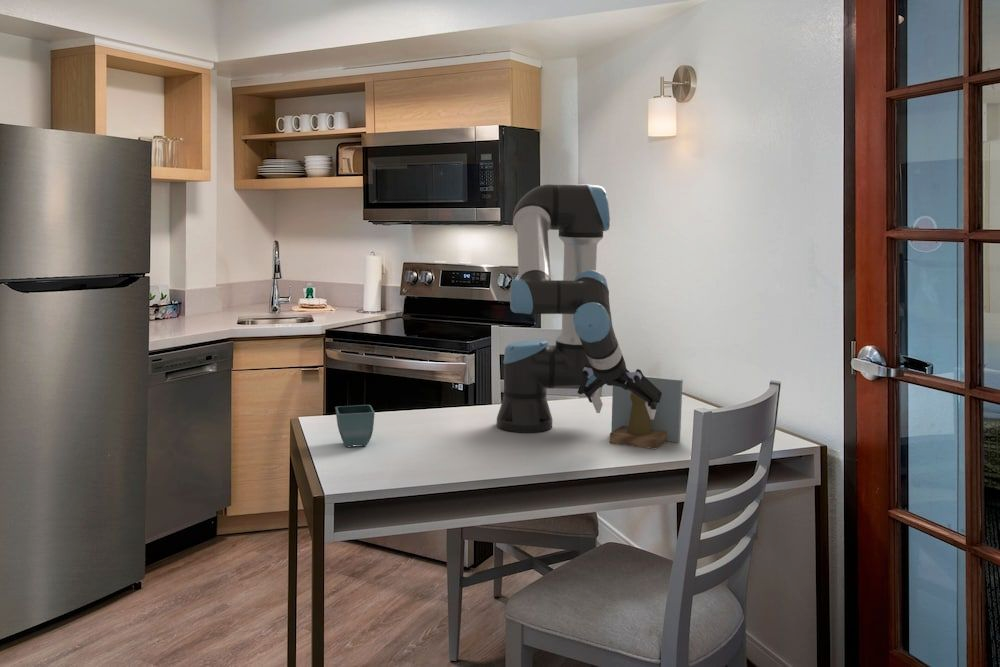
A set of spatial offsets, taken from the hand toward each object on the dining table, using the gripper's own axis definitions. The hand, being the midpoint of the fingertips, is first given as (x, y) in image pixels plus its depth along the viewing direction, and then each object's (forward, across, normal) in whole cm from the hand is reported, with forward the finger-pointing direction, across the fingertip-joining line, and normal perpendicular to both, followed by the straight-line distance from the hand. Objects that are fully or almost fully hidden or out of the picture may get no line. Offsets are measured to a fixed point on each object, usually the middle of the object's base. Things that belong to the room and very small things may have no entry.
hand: (626, 411), depth 205 cm
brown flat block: (+14, 0, 0) cm, 14 cm away
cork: (+12, 0, +2) cm, 13 cm away
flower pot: (-13, -60, -27) cm, 67 cm away
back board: (+18, 0, +4) cm, 18 cm away
